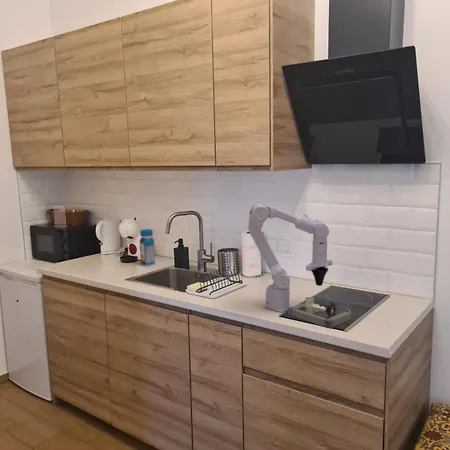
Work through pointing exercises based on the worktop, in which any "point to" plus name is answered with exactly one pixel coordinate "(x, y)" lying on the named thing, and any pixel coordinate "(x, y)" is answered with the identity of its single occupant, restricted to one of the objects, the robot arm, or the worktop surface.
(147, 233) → the beverage bottle
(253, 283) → the worktop surface
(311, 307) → the valve
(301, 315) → the chassis bay
